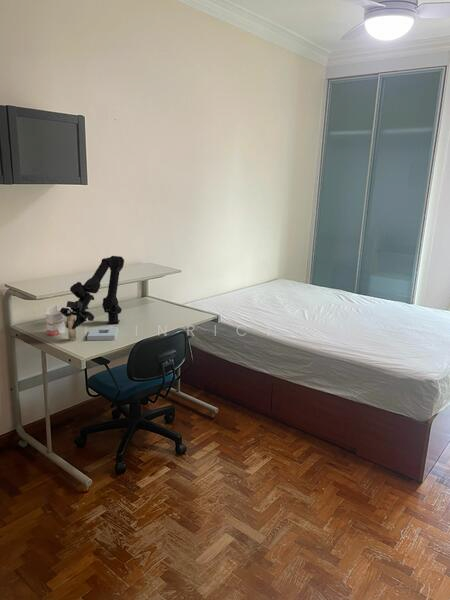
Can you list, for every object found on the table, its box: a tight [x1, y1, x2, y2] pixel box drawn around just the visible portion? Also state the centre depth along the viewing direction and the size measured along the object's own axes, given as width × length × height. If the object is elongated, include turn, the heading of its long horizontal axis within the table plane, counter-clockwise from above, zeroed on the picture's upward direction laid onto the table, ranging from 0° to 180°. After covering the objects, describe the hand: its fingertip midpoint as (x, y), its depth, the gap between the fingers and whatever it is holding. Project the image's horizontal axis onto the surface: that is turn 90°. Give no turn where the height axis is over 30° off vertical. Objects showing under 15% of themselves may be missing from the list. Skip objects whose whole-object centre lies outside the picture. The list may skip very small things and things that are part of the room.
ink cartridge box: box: [45, 304, 66, 337], centre depth 239 cm, size 9×5×15 cm, turn 157°
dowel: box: [66, 315, 77, 342], centre depth 230 cm, size 4×4×12 cm
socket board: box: [86, 326, 119, 341], centre depth 238 cm, size 14×14×2 cm
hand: (69, 328), depth 229 cm, fingers closed on dowel, 4 cm apart
